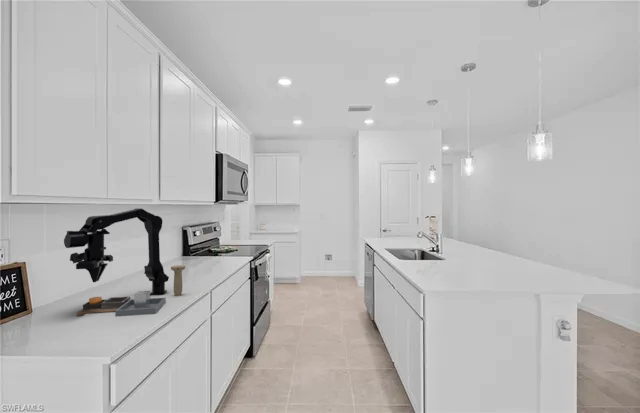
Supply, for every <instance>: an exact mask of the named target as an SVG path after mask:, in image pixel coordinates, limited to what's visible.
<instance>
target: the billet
mask: <svg viewBox="0 0 640 413" xmlns="http://www.w3.org/2000/svg"><path fill="white" fill-rule="evenodd" d="M150 293H151V290H138V291H137V292H136V293H134V309H141V308H149V307H150V298H151V295H150Z"/></svg>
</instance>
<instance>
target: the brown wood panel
mask: <svg viewBox="0 0 640 413" xmlns="http://www.w3.org/2000/svg"><path fill="white" fill-rule="evenodd" d="M129 300H131V296H119V297H117V296H115V297H109V298H108V299H102V302H101V303H100V304H89V301H87V302H85V303H84V304H82V309H81V310H80V311H78V312H76V317H83V316H85V315H91V314H106V313H107V314H108V313H115V312H116V310H117V309H118V308H120V307H121V306H122V305H124V304H125V303H126V302H127V301H129Z"/></svg>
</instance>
